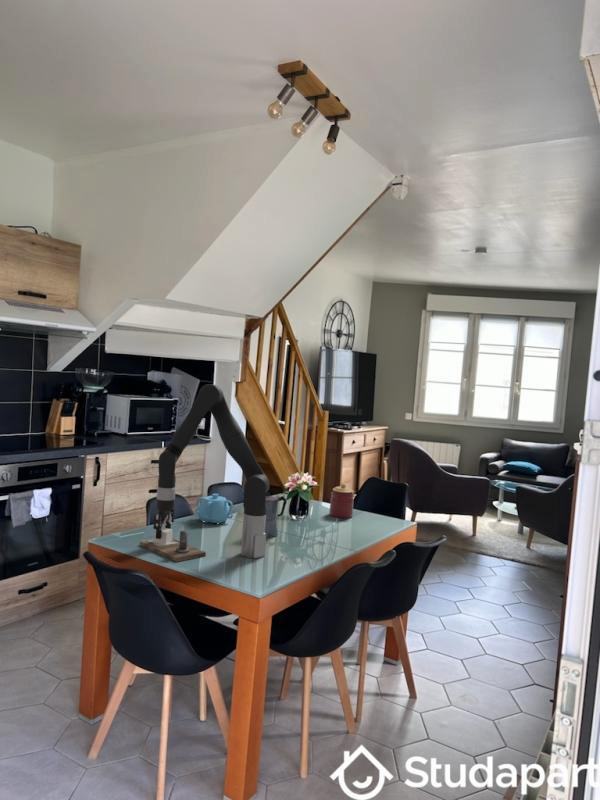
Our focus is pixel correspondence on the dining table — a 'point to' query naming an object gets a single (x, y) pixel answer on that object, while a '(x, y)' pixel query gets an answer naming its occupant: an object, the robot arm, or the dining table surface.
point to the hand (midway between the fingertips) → (163, 536)
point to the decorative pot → (214, 509)
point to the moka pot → (272, 514)
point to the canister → (341, 502)
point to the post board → (174, 548)
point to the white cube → (164, 536)
